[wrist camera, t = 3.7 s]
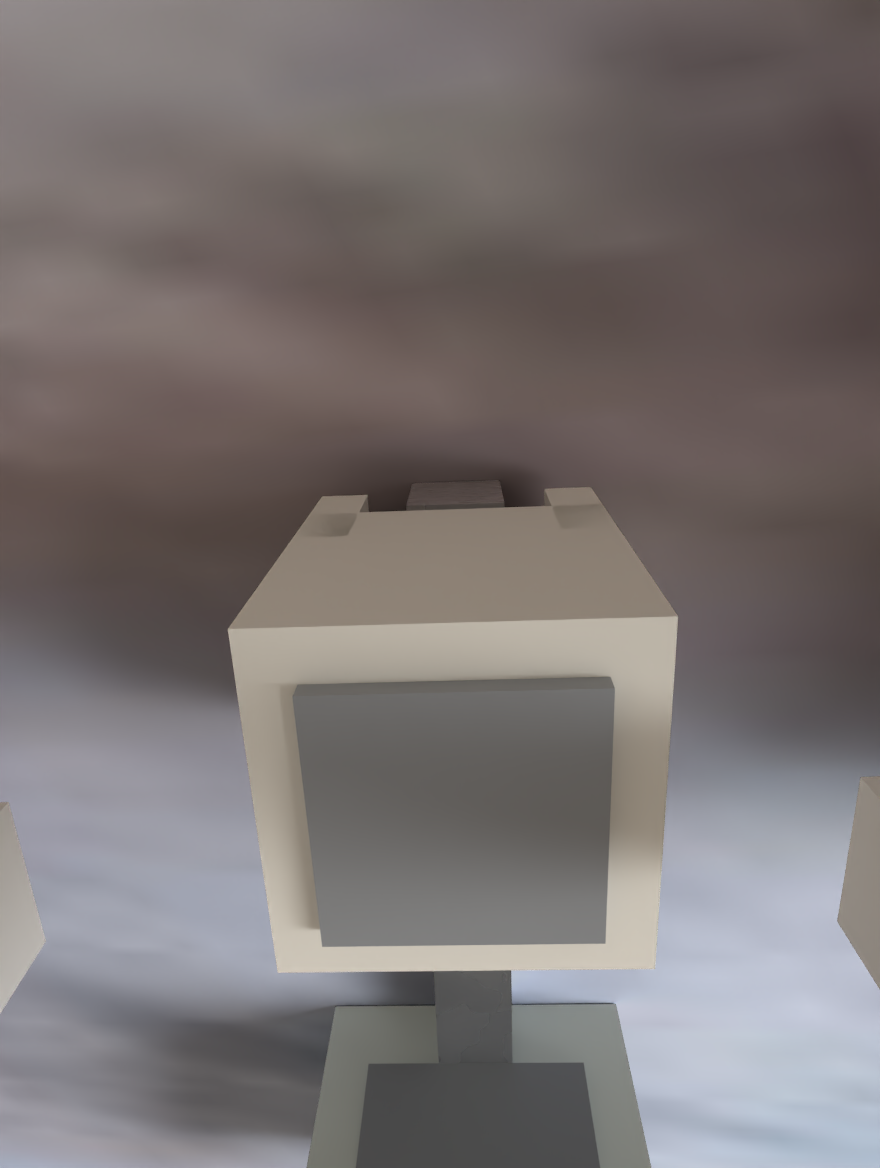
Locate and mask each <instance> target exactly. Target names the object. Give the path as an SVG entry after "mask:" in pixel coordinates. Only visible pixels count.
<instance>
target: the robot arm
mask: <svg viewBox="0 0 880 1168" xmlns="http://www.w3.org/2000/svg"><path fill="white" fill-rule="evenodd" d="M837 922H838V923H839V925H840V927H841V928H842V930H843V931H844V933H845V935H846V936H847V938H848V939H849V941H850V943H851V944H852V946H853V947H854V949H855V951H856V952H857V954H858V955H859V957H860V959H861V960H862V962H863V963H864V965H865V967H866V968H867V970H868V971H869V973H870V975H871V976H872V978H873V979H874V981H875V983H876V984H877V986H878V987H879V989H880V776H877V777H861V778H860V784H859V790H858V796H857V802H856V809H855V815H854V821H853V827H852V833H851V839H850V846H849V852H848V858H847V864H846V870H845V877H844V883H843V889H842V895H841V901H840V908H839V914H838V920H837ZM45 942H46V940H45V936H44V933H43V929H42V925H41V921H40V918H39V914H38V910H37V906H36V903H35V899H34V895H33V892H32V888H31V884H30V880H29V877H28V873H27V869H26V866H25V862H24V858H23V854H22V851H21V847H20V843H19V840H18V836H17V832H16V828H15V825H14V821H13V817H12V813H11V810H10V806H9V802H0V1013H1V1012H2V1010H3V1009H4V1007H5V1005H6V1004H7V1002H8V1001H9V999H10V998H11V996H12V994H13V993H14V991H15V990H16V988H17V986H18V985H19V983H20V982H21V980H22V978H23V977H24V975H25V974H26V972H27V971H28V969H29V967H30V966H31V964H32V963H33V961H34V959H35V958H36V956H37V955H38V953H39V952H40V950H41V948H42V947H43V945H44V944H45Z"/></svg>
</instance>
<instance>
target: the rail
mask: <svg viewBox="0 0 880 1168" xmlns="http://www.w3.org/2000/svg"><path fill="white" fill-rule="evenodd" d="M476 508H504V499H503V494H502V489H501V484H500V480H490V481H462V482H433V483H412V486H411V490H410V494H409V497H408V501H407V505H406V511H417V510H447V509H476ZM433 973H434V990H435V1007H436V1024H437V1042H438V1059H439V1063H512V998H511V970H494V971H433Z"/></svg>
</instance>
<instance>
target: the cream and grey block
mask: <svg viewBox="0 0 880 1168" xmlns="http://www.w3.org/2000/svg"><path fill="white" fill-rule="evenodd" d="M677 626H678V615H677V614H676V613H675V611H674V610H673V608H672V607H671V605H670V604H669V602H668V601H667V599H666V598H665V596H664V595H663V593H662V592H661V590H660V589H659V587H658V586H657V584H656V583H655V581H654V580H653V578H652V577H651V576H650V574H649V573H648V571H647V570H646V568H645V567H644V565H643V564H642V562H641V561H640V559H639V558H638V556H637V555H636V553H635V552H634V550H633V549H632V547H631V546H630V544H629V543H628V541H627V540H626V538H625V537H624V536H623V534H622V533H621V531H620V530H619V528H618V527H617V525H616V524H615V522H614V521H613V519H612V518H611V516H610V515H609V513H608V512H607V510H606V509H605V507H604V506H603V504H602V503H601V501H600V500H599V498H598V497H597V496H596V494H595V493H594V491H593V490H592V488H591V487H578V488H550V489H544V506H535V507H505V508H476V509H447V510H417V511H388V512H369V506H368V495H350V496H322V497H321V499H320V500H319V502H318V503H317V504H316V506H315V507H314V509H313V510H312V511H311V513H310V514H309V516H308V517H307V518H306V520H305V521H304V523H303V524H302V525H301V527H300V528H299V530H298V531H297V532H296V534H295V535H294V537H293V538H292V540H291V541H290V542H289V544H288V545H287V547H286V548H285V549H284V551H283V552H282V554H281V555H280V556H279V558H278V559H277V561H276V562H275V563H274V565H273V566H272V568H271V569H270V570H269V572H268V573H267V575H266V576H265V577H264V579H263V580H262V582H261V583H260V584H259V586H258V587H257V589H256V590H255V591H254V593H253V594H252V596H251V597H250V598H249V600H248V601H247V603H246V604H245V606H244V607H243V608H242V610H241V611H240V613H239V614H238V615H237V617H236V618H235V620H234V621H233V622H232V624H231V625H230V627H229V628H228V635H229V641H230V648H231V655H232V662H233V669H234V676H235V683H236V689H237V696H238V703H239V710H240V717H241V724H242V731H243V738H244V744H245V751H246V758H247V765H248V772H249V779H250V786H251V792H252V799H253V806H254V813H255V820H256V827H257V834H258V840H259V847H260V854H261V861H262V868H263V875H264V882H265V888H266V895H267V902H268V909H269V916H270V923H271V930H272V937H273V943H274V950H275V957H276V964H277V971H278V973H299V972H397V971H494V970H592V969H655V961H656V945H657V930H658V915H659V900H660V885H661V869H662V854H663V839H664V824H665V808H666V793H667V778H668V763H669V748H670V732H671V717H672V702H673V687H674V671H675V656H676V641H677Z"/></svg>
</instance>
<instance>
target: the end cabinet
mask: <svg viewBox="0 0 880 1168" xmlns="http://www.w3.org/2000/svg"><path fill="white" fill-rule="evenodd" d="M307 1168H651V1164H650V1159H649V1155H648V1150H647V1146H646V1141H645V1136H644V1132H643V1127H642V1122H641V1118H640V1113H639V1109H638V1104H637V1099H636V1095H635V1090H634V1085H633V1081H632V1076H631V1072H630V1067H629V1062H628V1058H627V1053H626V1048H625V1044H624V1039H623V1035H622V1030H621V1025H620V1021H619V1016H618V1011H617V1007H616V1004H563V1005H512V1063H439V1059H438V1042H437V1024H436V1007H435V1006H336V1007H335V1013H334V1018H333V1024H332V1029H331V1035H330V1040H329V1046H328V1051H327V1057H326V1063H325V1068H324V1074H323V1079H322V1085H321V1090H320V1096H319V1101H318V1107H317V1112H316V1118H315V1124H314V1129H313V1135H312V1140H311V1146H310V1151H309V1157H308V1162H307Z"/></svg>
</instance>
